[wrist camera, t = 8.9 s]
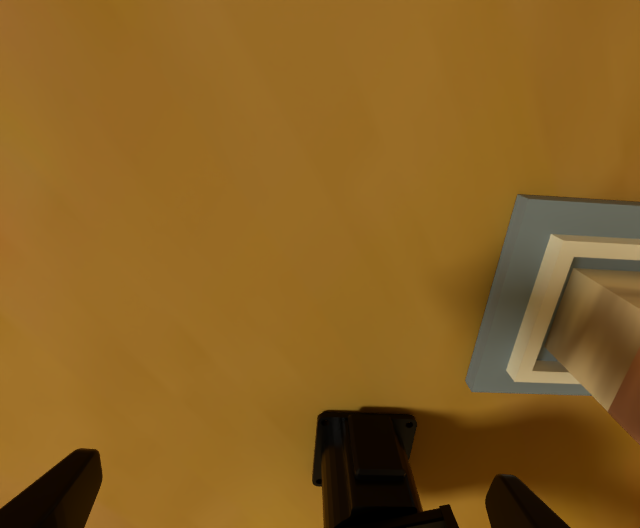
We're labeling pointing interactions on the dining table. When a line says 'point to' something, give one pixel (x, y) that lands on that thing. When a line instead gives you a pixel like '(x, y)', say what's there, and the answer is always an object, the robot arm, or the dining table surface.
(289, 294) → the dining table surface
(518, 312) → the board
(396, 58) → the dining table surface
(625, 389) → the top block
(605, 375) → the base block
